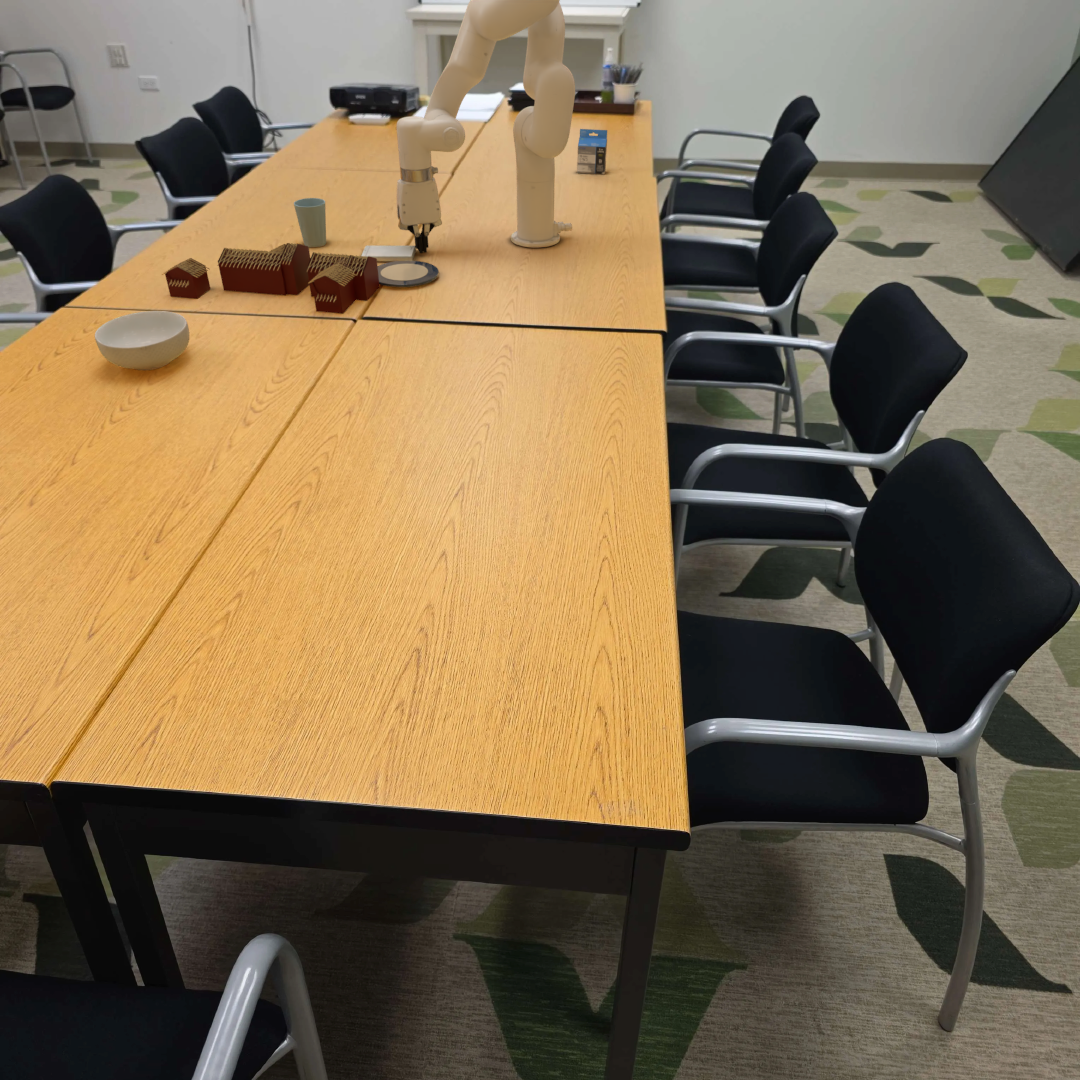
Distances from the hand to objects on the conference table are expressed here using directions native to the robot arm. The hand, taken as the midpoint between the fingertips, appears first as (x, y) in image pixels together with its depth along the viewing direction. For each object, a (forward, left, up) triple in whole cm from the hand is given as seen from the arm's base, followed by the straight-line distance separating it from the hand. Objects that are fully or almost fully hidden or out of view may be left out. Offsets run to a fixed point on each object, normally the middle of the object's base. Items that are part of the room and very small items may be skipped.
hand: (422, 250), depth 228 cm
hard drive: (+8, 0, -1) cm, 8 cm away
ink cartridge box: (-69, -56, -1) cm, 89 cm away
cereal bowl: (+65, +43, -1) cm, 78 cm away
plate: (+8, +15, -1) cm, 17 cm away
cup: (+24, -16, -1) cm, 29 cm away
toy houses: (+38, +14, -1) cm, 41 cm away
